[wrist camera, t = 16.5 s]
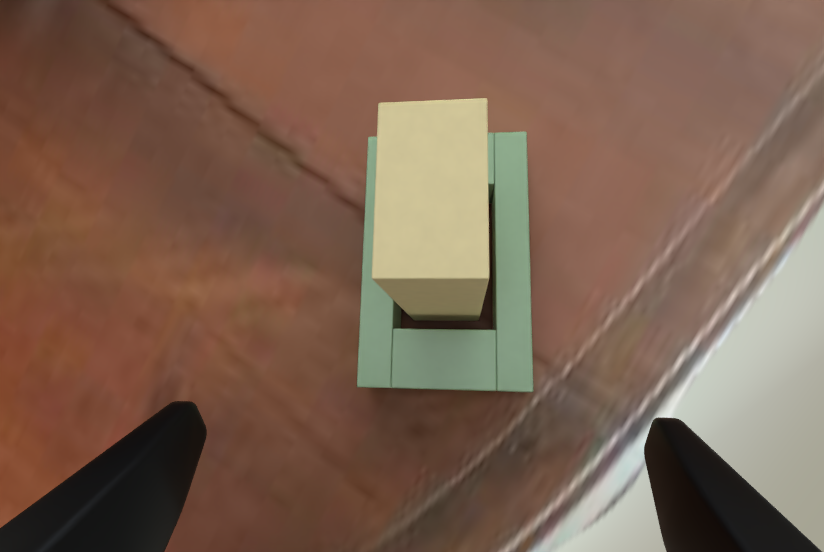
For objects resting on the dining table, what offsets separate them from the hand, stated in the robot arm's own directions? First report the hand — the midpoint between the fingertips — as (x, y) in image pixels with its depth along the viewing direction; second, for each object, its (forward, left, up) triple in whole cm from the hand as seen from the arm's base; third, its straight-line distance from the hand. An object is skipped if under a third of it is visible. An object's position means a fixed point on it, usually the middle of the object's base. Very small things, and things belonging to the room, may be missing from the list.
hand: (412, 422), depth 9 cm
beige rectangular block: (+3, -5, -12) cm, 13 cm away
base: (+3, -5, -12) cm, 13 cm away
